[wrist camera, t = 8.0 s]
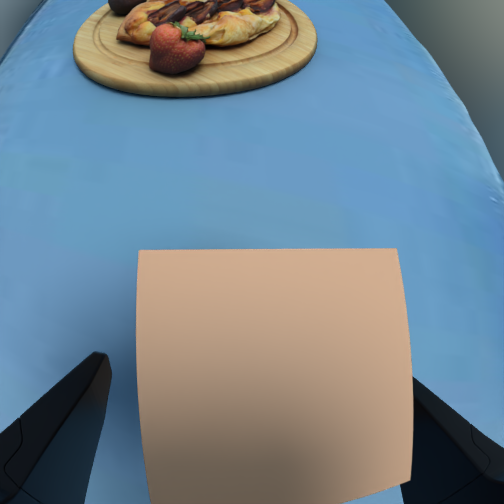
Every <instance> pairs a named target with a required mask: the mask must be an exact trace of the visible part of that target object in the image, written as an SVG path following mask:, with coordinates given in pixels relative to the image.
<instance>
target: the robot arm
mask: <svg viewBox="0 0 504 504" xmlns="http://www.w3.org/2000/svg"><path fill="white" fill-rule="evenodd" d="M111 378H112V371H111V367H110V363H109V358H108V355H107V354H106V353H102V352H96V351H95V352H93V353H91V354H90V355H89V356H88V357H87V358H86V359H84V360H83V361H82V362H81V363H80V364H79V365H77V366H76V367H75V368H74V369H73V370H72V371H71V372H69V373H68V374H67V375H66V376H65V377H64V378H63V379H61V380H60V381H59V382H58V383H57V384H56V385H55V386H53V387H52V388H51V389H50V390H49V391H48V392H47V393H45V394H44V395H43V396H42V397H41V398H40V399H39V400H38V401H36V402H35V403H34V404H33V405H32V406H31V407H30V408H29V409H27V410H26V411H25V412H24V413H23V414H22V415H21V416H20V418H17V419H16V420H15V421H14V422H13V423H12V424H11V425H10V426H8V427H7V428H6V429H5V430H4V431H3V432H1V433H0V504H84V502H85V497H86V492H87V488H88V483H89V479H90V474H91V470H92V466H93V462H94V457H95V453H96V450H97V446H98V442H99V438H100V434H101V431H102V427H103V423H104V419H105V413H106V407H107V401H108V395H109V389H110V384H111ZM412 380H413V447H412V465H411V477H410V480H409V481H407V482H404V483H402V484H400V487H401V492H402V497H403V502H404V504H504V448H503V447H501V446H500V445H498V444H497V443H495V442H494V441H492V440H491V439H490V438H488V437H487V436H485V435H484V434H483V433H482V432H480V431H479V430H478V429H477V428H475V427H474V426H473V425H472V424H470V423H469V422H468V421H467V420H466V419H464V418H463V417H462V416H461V415H460V414H458V413H457V412H456V411H455V410H453V409H452V408H451V407H450V406H449V405H447V404H446V403H445V402H444V401H442V400H441V399H440V398H439V397H438V396H436V395H435V394H434V393H433V392H431V391H430V390H429V389H428V388H427V387H425V386H424V385H423V384H422V383H420V382H419V381H418V380H417V379H416V378H414V377H413V376H412Z"/></svg>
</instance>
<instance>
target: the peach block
mask: <svg viewBox="0 0 504 504" xmlns="http://www.w3.org/2000/svg"><path fill="white" fill-rule="evenodd" d="M136 361H137V386H138V403H139V416H140V428H141V438H142V447H143V455H144V463H145V470H146V477H147V483H148V489H149V495H150V501H151V504H340V503H344V502H348V501H351V500H355V499H358V498H362V497H365V496H368V495H371V494H374V493H377V492H380V491H383V490H386V489H389V488H391V487H394V486H397V485H399V484H402V483H404V482H407V481H409V480H410V477H411V465H412V447H413V380H412V362H411V348H410V337H409V327H408V318H407V310H406V302H405V295H404V288H403V282H402V275H401V270H400V264H399V258H398V253H397V248H385V249H211V250H139V257H138V274H137V299H136Z"/></svg>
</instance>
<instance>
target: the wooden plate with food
mask: <svg viewBox="0 0 504 504" xmlns="http://www.w3.org/2000/svg"><path fill="white" fill-rule="evenodd" d="M316 48H317V33H316V30H315V27H314V25H313V23H312V22H311V20H310V19H309V18H308V17H307V15H306V14H305V13H304V12H303V11H301V10H300V9H299V8H298V7H297V6H296V5H294V4H293V3H291V2H289V1H288V0H108V3H107V4H105V5H104V6H102V7H101V8H99V9H98V10H97V11H96V12H94V13H93V14H92V15H91V16H90V17H89V18H88V19H87V20H86V21H85V22H84V23H83V25H82V26H81V27H80V29H79V30H78V32H77V34H76V36H75V39H74V44H73V56H74V60H75V62H76V64H77V66H78V67H79V69H80V70H81V71H82V72H83V73H84V74H85V75H86V76H88V77H89V78H91V79H92V80H94V81H96V82H98V83H100V84H102V85H105V86H107V87H110V88H113V89H117V90H121V91H125V92H129V93H136V94H142V95H152V96H167V97H188V96H208V95H219V94H226V93H233V92H239V91H245V90H250V89H255V88H259V87H263V86H266V85H270V84H272V83H275V82H278V81H280V80H282V79H284V78H286V77H288V76H290V75H292V74H294V73H296V72H297V71H299V70H301V69H302V68H303V67H304V66H306V65H307V63H308V62H309V61H310V60H311V58H312V57H313V56H314V54H315V51H316Z"/></svg>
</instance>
